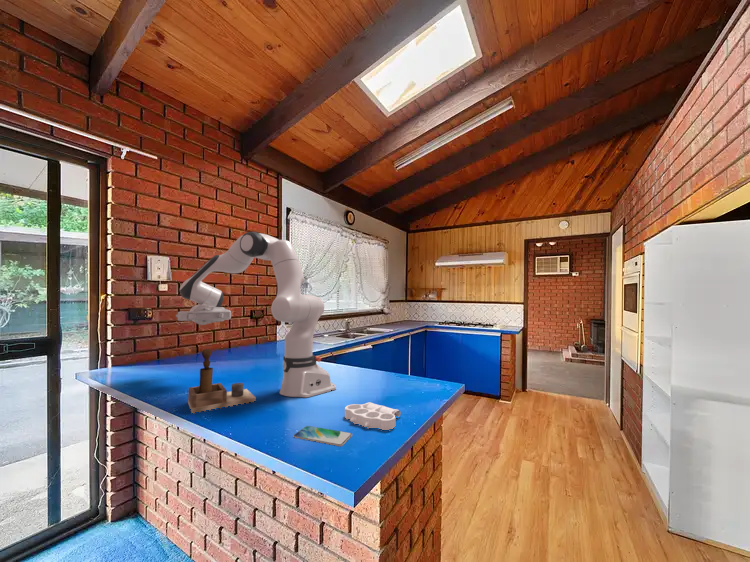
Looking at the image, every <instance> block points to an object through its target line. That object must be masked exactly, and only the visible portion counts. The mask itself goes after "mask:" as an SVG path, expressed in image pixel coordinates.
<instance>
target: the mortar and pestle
mask: <svg viewBox="0 0 750 562" xmlns="http://www.w3.org/2000/svg"><path fill="white" fill-rule="evenodd" d="M212 354H213V353H212V350H211V349H210V348H204V349H203V350H202V352H201V356H202V357H203V359H204V360H203V361H202V364H203V367H202V368H200V369H199V386H200V388H199V392H198V393H197V394H201V393H208V392H214V391H212V384H213V373H214V371H213V369H214V368H213V367H210V366H211V365H210V364H211V361H210V357H211V356H212Z"/></svg>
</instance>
